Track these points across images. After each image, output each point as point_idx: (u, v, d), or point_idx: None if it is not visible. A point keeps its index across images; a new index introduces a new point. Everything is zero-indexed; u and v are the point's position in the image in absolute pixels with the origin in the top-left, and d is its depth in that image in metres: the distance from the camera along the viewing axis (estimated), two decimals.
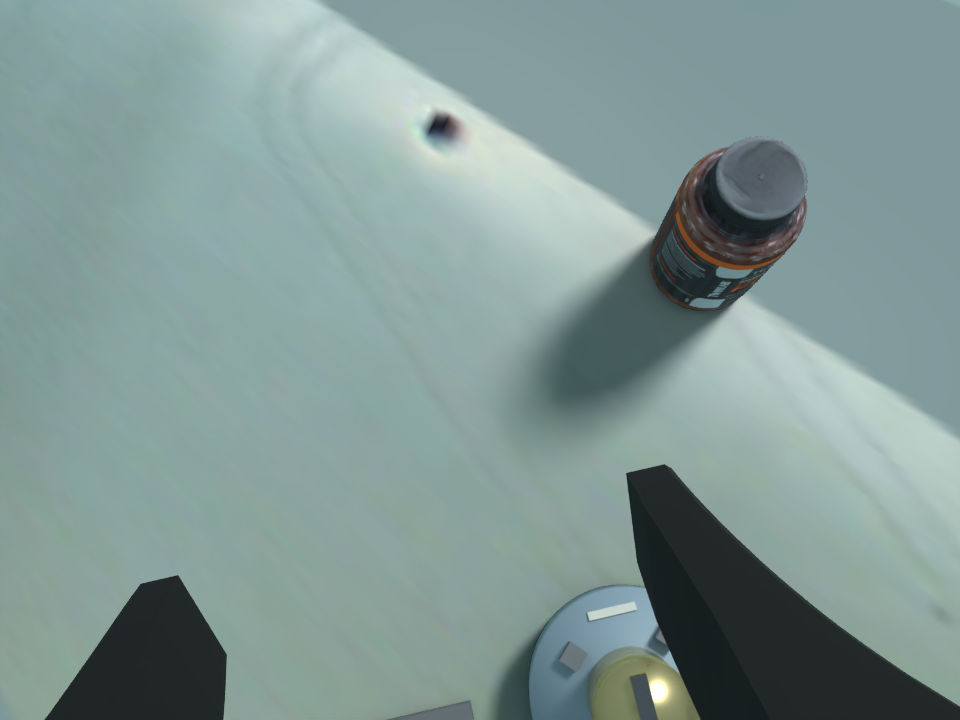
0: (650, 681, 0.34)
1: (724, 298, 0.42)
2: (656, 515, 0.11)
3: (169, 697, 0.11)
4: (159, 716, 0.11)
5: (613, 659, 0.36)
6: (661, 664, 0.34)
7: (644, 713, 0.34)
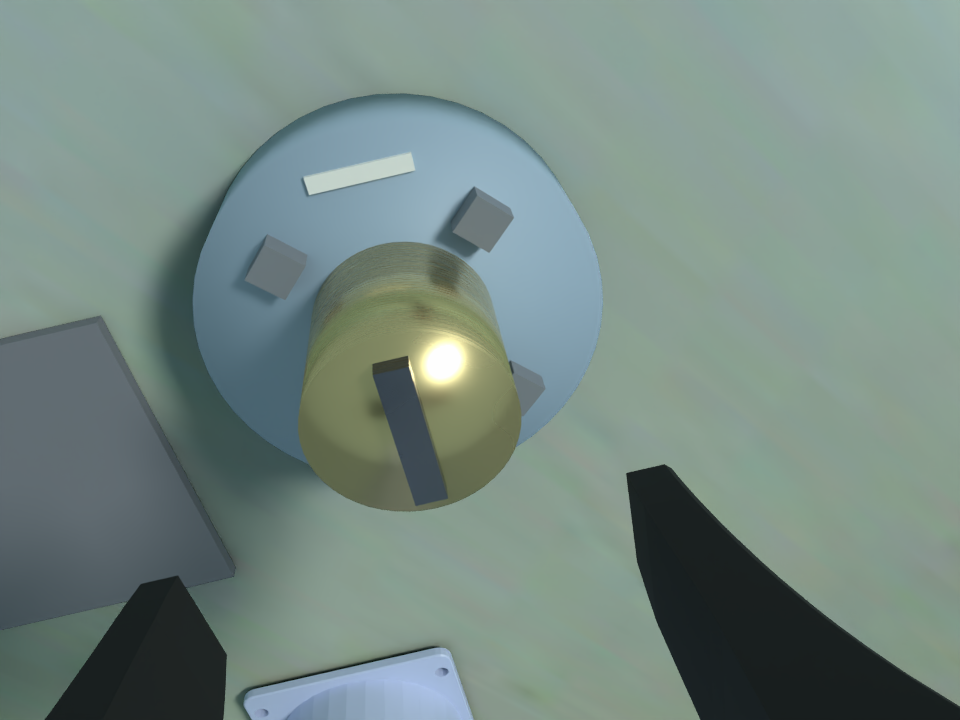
0: (419, 370, 0.15)
1: None
2: (656, 515, 0.11)
3: (169, 697, 0.11)
4: (159, 717, 0.11)
5: (352, 294, 0.17)
6: (446, 338, 0.15)
7: (403, 434, 0.15)
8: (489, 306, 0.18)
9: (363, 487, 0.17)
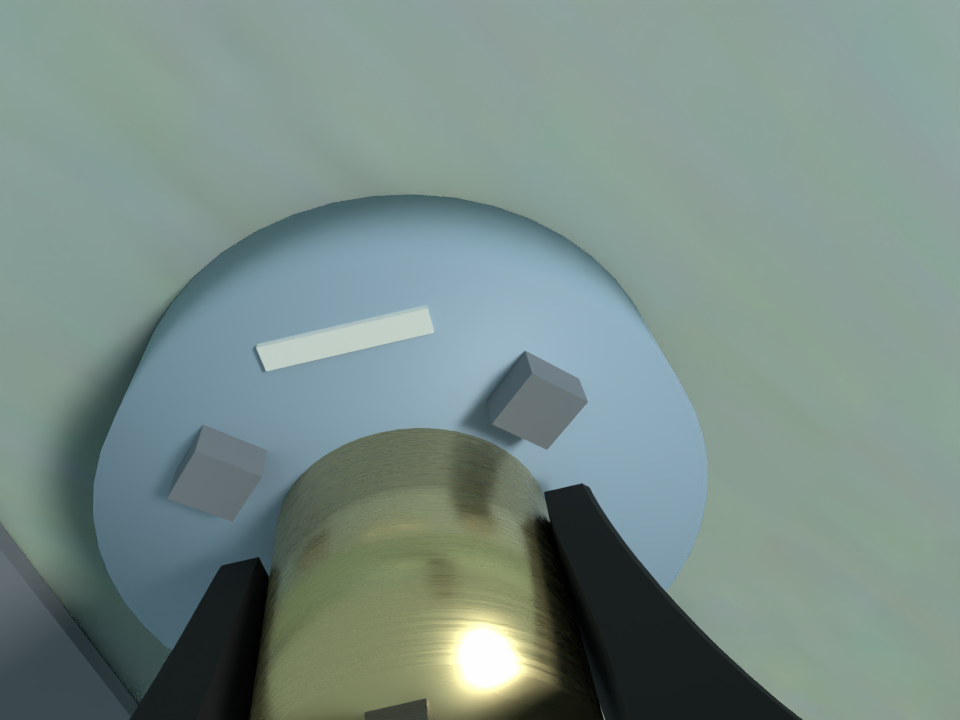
0: (445, 715, 0.09)
1: None
2: (564, 536, 0.11)
3: None
4: (250, 696, 0.11)
5: (333, 544, 0.10)
6: (493, 672, 0.09)
7: None
8: (547, 532, 0.12)
9: None
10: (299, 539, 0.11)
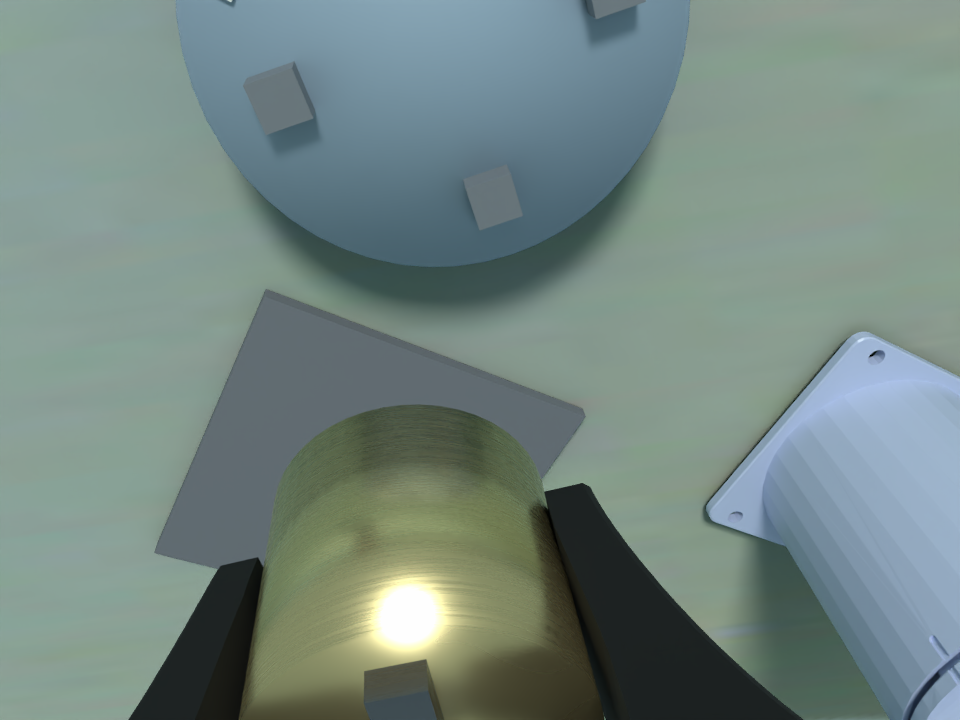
0: (444, 678, 0.09)
1: None
2: (565, 536, 0.11)
3: None
4: None
5: (335, 511, 0.10)
6: (494, 635, 0.09)
7: None
8: (545, 511, 0.12)
9: None
10: (300, 507, 0.11)
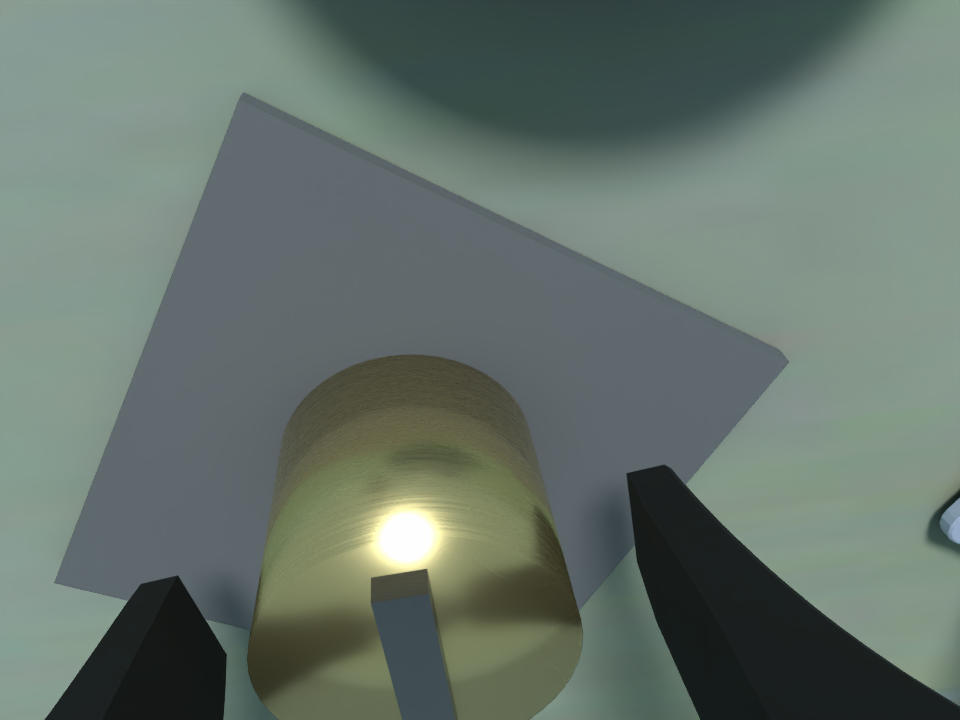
0: (441, 588, 0.10)
1: None
2: (656, 515, 0.11)
3: (169, 697, 0.11)
4: (159, 717, 0.11)
5: (344, 443, 0.11)
6: (488, 548, 0.10)
7: (406, 678, 0.10)
8: (534, 457, 0.13)
9: None
10: (310, 441, 0.12)
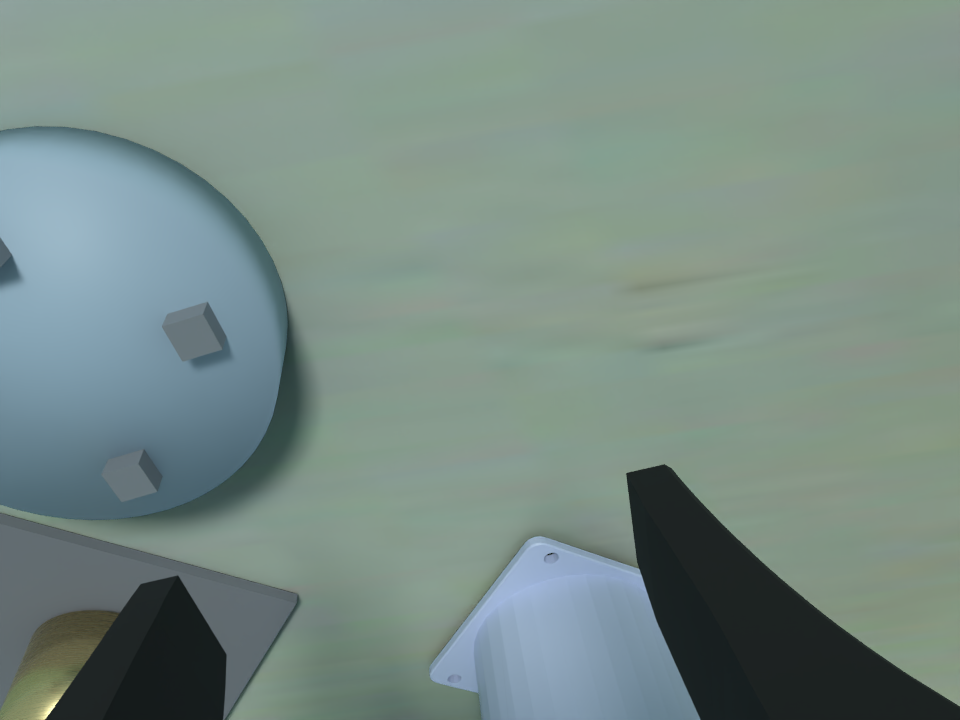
0: None
1: None
2: (656, 515, 0.11)
3: (169, 697, 0.11)
4: (159, 716, 0.11)
5: (37, 669, 0.24)
6: None
7: None
8: None
9: None
10: (27, 661, 0.25)
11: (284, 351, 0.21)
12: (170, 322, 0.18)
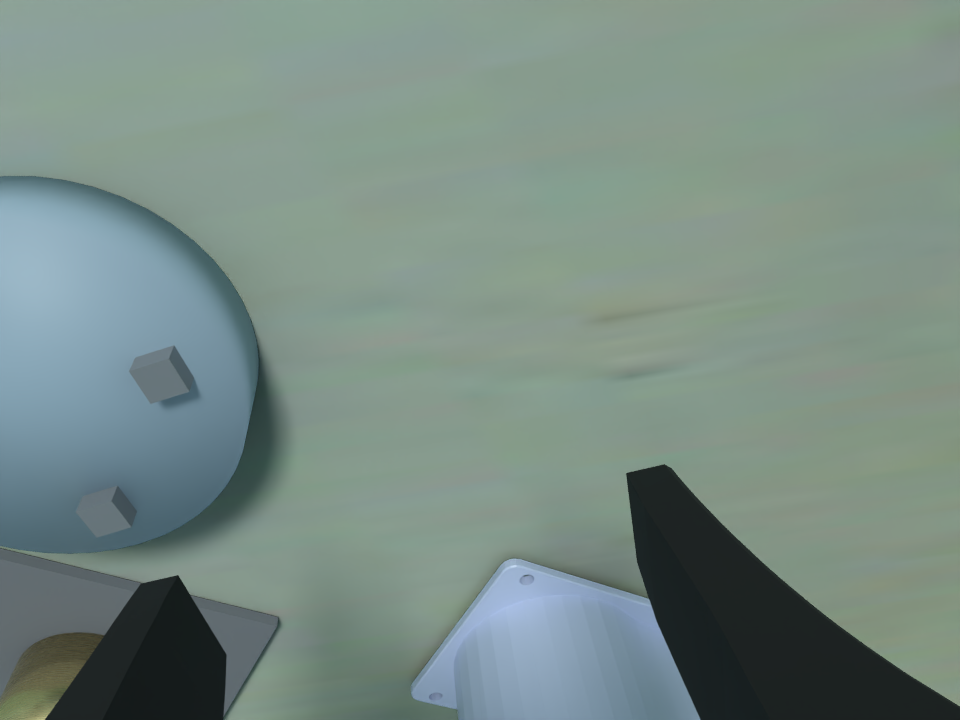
0: None
1: None
2: (656, 515, 0.11)
3: (169, 697, 0.11)
4: (159, 716, 0.11)
5: (31, 685, 0.25)
6: None
7: None
8: None
9: None
10: (19, 678, 0.25)
11: (255, 387, 0.22)
12: (137, 366, 0.18)
